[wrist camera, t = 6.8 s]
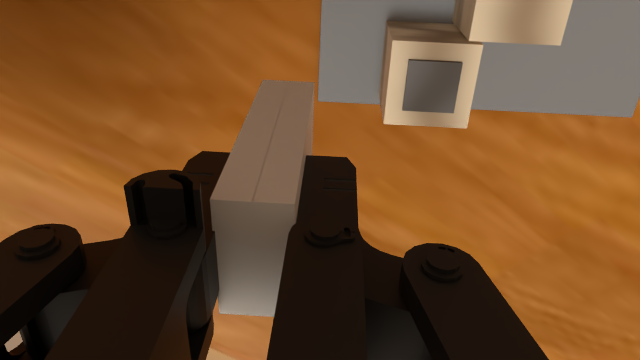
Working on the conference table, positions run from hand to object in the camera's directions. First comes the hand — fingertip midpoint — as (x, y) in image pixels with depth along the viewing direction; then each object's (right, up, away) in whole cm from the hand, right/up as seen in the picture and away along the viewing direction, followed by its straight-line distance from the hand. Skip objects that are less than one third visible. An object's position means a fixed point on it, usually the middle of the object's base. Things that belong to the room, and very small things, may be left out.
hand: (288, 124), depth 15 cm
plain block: (+14, +13, +22) cm, 29 cm away
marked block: (+9, +8, +25) cm, 28 cm away
